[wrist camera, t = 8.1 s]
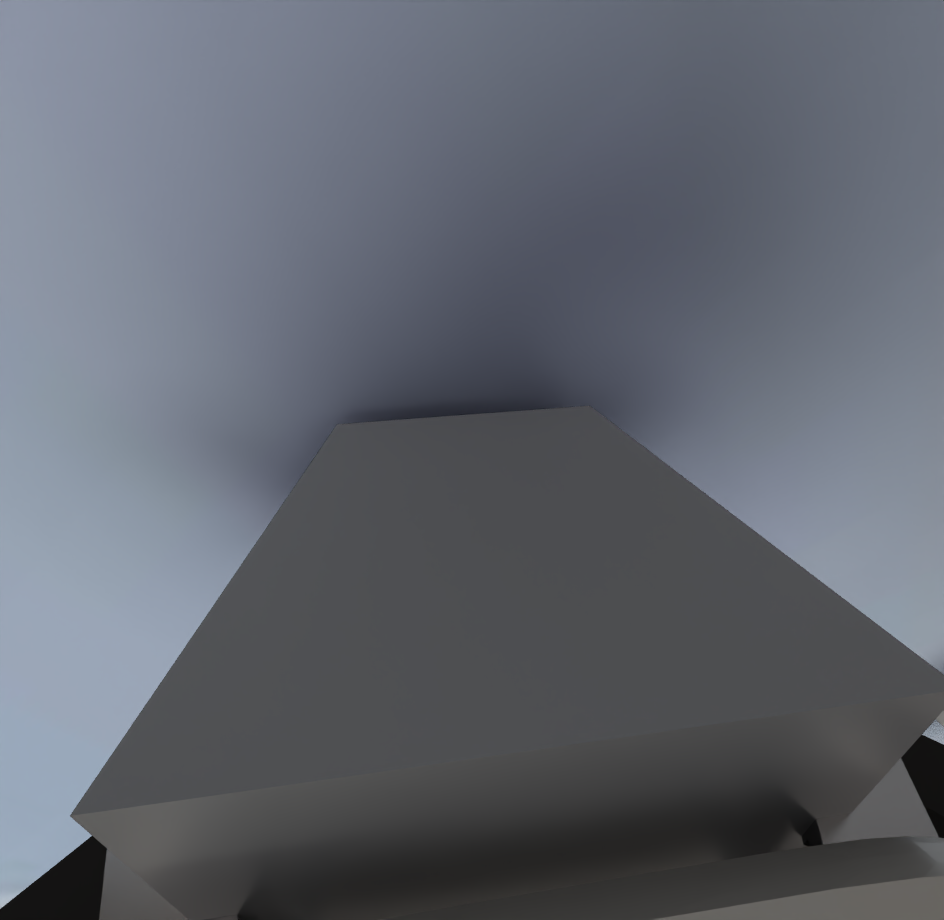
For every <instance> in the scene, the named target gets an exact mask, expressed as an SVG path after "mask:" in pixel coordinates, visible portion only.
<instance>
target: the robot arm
mask: <svg viewBox="0 0 944 920" xmlns="http://www.w3.org/2000/svg"><path fill="white" fill-rule="evenodd" d="M802 841H803V844H804V845H806V846H808V847H803V848H796V849H789V850H782V851H776V852H770V853H764V854H758V855H752V856H746V857H740V858H734V859H728V860H722V861H716V862H710V863H704V864H697V865H691V866H685V867H679V868H673V869H667V870H661V871H655V872H649V873H643V874H638V875H632V876H626V877H620V878H614V879H608V880H603V881H597V882H591V883H585V884H579V885H573V886H568V887H562V888H556V889H550V890H544V891H539V892H533V893H527V894H521V895H516V896H510V897H504V898H498V899H492V900H487V901H481V902H475V903H469V904H464V905H458V906H453V907H447V908H441V909H436V910H430V911H424V912H419V913H413V914H408V915H402V916H396V917H391V918H385V919H380V920H944V745H943V744H941V743H939V742H936V741H934V740H932V739H930V738H928V737H926V736H923V735H921V736H920V737H919V738H918V739H917V740H916V741H915V743H914V744H913V745H912V746H911V747H910V748H909V749H908V750H907V752H906V753H905V754H904V755H903V756H902V757H901V758H900V759H899V760H898V762H897V763H896V764H895V765H894V766H893V767H892V768H891V769H890V771H889V772H888V773H887V774H886V775H885V776H884V777H883V778H882V779H881V781H880V782H879V783H878V784H877V785H876V786H875V787H874V788H873V789H872V791H871V792H870V793H869V794H868V795H867V796H866V797H865V798H864V800H863V801H862V802H861V803H860V804H859V805H858V806H857V807H856V808H855V810H854V811H853V812H852V813H846V814H840V815H833V816H827V817H821V818H816V819H815V820H814V822H813V823H812V824H811V825H810V827H809V828H808V829H807V830H806V832H805V833H804V834H803V835H802ZM0 920H189V919H187V918H186V917H185V916H184V915H183V914H182V913H181V912H179V911H178V910H177V909H176V908H175V907H174V906H173V905H171V904H170V903H169V902H168V901H167V900H166V899H165V898H163V897H162V896H161V895H160V894H159V893H158V892H156V891H155V890H154V889H153V888H152V887H151V886H150V885H148V884H147V883H146V882H145V881H144V880H143V879H142V878H140V877H139V876H138V875H137V874H136V873H135V872H134V871H132V870H131V869H130V868H129V867H128V866H127V865H126V864H124V863H123V862H122V861H121V860H120V859H119V858H117V857H116V856H115V855H114V854H113V853H112V852H111V851H109V850H108V849H107V848H106V847H105V846H104V845H103V844H101V843H100V842H99V841H98V840H97V839H96V838H95V837H93V836H91V837H90V838H89V839H88V840H86V841H85V842H84V843H83V844H81V845H80V846H79V847H78V848H76V849H75V850H74V851H73V852H71V853H70V854H69V855H68V856H66V857H65V858H64V859H63V860H61V861H60V862H59V863H58V864H56V865H55V866H54V867H53V868H51V869H50V870H49V871H47V872H46V873H45V874H44V875H42V876H41V877H40V878H39V879H37V880H36V881H35V882H34V883H32V884H31V885H30V886H29V887H27V888H26V889H25V890H24V891H22V892H21V893H20V894H19V895H17V896H16V897H15V898H14V899H12V900H11V901H10V902H9V903H7V904H6V905H5V906H4V907H2V908H1V909H0ZM204 920H242V919H241V918H240V917H239V916H238V915H237V914H235V915H229V916H223V917H217V918H211V919H204Z"/></svg>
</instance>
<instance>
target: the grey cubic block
mask: <svg viewBox="0 0 944 920" xmlns="http://www.w3.org/2000/svg"><path fill="white" fill-rule="evenodd" d="M943 710H944V675H943V674H942V673H941V672H939V671H938V670H937V669H935V668H934V667H933V666H931V665H930V664H929V663H927V662H926V661H925V660H924V659H922V658H921V657H920V656H918V655H917V654H916V653H914V652H913V651H912V650H910V649H909V648H908V647H906V646H905V645H904V644H903V643H901V642H900V641H899V640H897V639H896V638H895V637H893V636H892V635H891V634H889V633H888V632H887V631H885V630H884V629H883V628H881V627H880V626H879V625H878V624H876V623H875V622H874V621H872V620H871V619H870V618H868V617H867V616H866V615H864V614H863V613H862V612H860V611H859V610H858V609H856V608H855V607H854V606H853V605H851V604H850V603H849V602H847V601H846V600H845V599H843V598H842V597H841V596H839V595H838V594H837V593H835V592H834V591H833V590H831V589H830V588H829V587H828V586H826V585H825V584H824V583H822V582H821V581H820V580H818V579H817V578H816V577H814V576H813V575H812V574H810V573H809V572H808V571H806V570H805V569H804V568H803V567H801V566H800V565H799V564H797V563H796V562H795V561H793V560H792V559H791V558H789V557H788V556H787V555H785V554H784V553H783V552H781V551H780V550H779V549H778V548H776V547H775V546H774V545H772V544H771V543H770V542H768V541H767V540H766V539H764V538H763V537H762V536H760V535H759V534H758V533H757V532H755V531H754V530H753V529H751V528H750V527H749V526H747V525H746V524H745V523H743V522H742V521H741V520H739V519H738V518H737V517H735V516H734V515H733V514H732V513H730V512H729V511H728V510H726V509H725V508H724V507H722V506H721V505H720V504H718V503H717V502H716V501H714V500H713V499H712V498H710V497H709V496H708V495H707V494H705V493H704V492H703V491H701V490H700V489H699V488H697V487H696V486H695V485H693V484H692V483H691V482H689V481H688V480H687V479H685V478H684V477H683V476H682V475H680V474H679V473H678V472H676V471H675V470H674V469H672V468H671V467H670V466H668V465H667V464H666V463H664V462H663V461H662V460H660V459H659V458H658V457H657V456H655V455H654V454H653V453H651V452H650V451H649V450H647V449H646V448H645V447H643V446H642V445H641V444H639V443H638V442H637V441H635V440H634V439H633V438H632V437H630V436H629V435H628V434H626V433H625V432H624V431H622V430H621V429H620V428H618V427H617V426H616V425H614V424H613V423H612V422H611V421H609V420H608V419H607V418H605V417H604V416H603V415H601V414H600V413H599V412H597V411H596V410H595V409H593V408H592V407H591V406H578V407H565V408H551V409H537V410H524V411H510V412H497V413H483V414H470V415H456V416H443V417H429V418H415V419H402V420H388V421H375V422H361V423H348V424H337V425H336V427H335V428H334V430H333V431H332V433H331V434H330V435H329V437H328V438H327V440H326V441H325V443H324V444H323V446H322V447H321V449H320V450H319V452H318V453H317V454H316V456H315V457H314V459H313V460H312V462H311V463H310V465H309V466H308V468H307V469H306V471H305V472H304V474H303V475H302V476H301V478H300V479H299V481H298V482H297V484H296V485H295V487H294V488H293V490H292V491H291V493H290V494H289V496H288V497H287V498H286V500H285V501H284V503H283V504H282V506H281V507H280V509H279V510H278V512H277V513H276V515H275V516H274V518H273V519H272V520H271V522H270V523H269V525H268V526H267V528H266V529H265V531H264V532H263V534H262V535H261V537H260V538H259V540H258V541H257V542H256V544H255V545H254V547H253V548H252V550H251V551H250V553H249V554H248V556H247V557H246V559H245V560H244V561H243V563H242V564H241V566H240V567H239V569H238V570H237V572H236V573H235V575H234V576H233V578H232V579H231V581H230V582H229V583H228V585H227V586H226V588H225V589H224V591H223V592H222V594H221V595H220V597H219V598H218V600H217V601H216V603H215V604H214V605H213V607H212V608H211V610H210V611H209V613H208V614H207V616H206V617H205V619H204V620H203V622H202V623H201V625H200V626H199V627H198V629H197V630H196V632H195V633H194V635H193V636H192V638H191V639H190V641H189V642H188V644H187V645H186V647H185V648H184V649H183V651H182V652H181V654H180V655H179V657H178V658H177V660H176V661H175V663H174V664H173V666H172V667H171V668H170V670H169V671H168V673H167V674H166V676H165V677H164V679H163V680H162V682H161V683H160V685H159V686H158V688H157V689H156V690H155V692H154V693H153V695H152V696H151V698H150V699H149V701H148V702H147V704H146V705H145V707H144V708H143V710H142V711H141V712H140V714H139V715H138V717H137V718H136V720H135V721H134V723H133V724H132V726H131V727H130V729H129V730H128V732H127V733H126V734H125V736H124V737H123V739H122V740H121V742H120V743H119V745H118V746H117V748H116V749H115V751H114V752H113V754H112V755H111V756H110V758H109V759H108V761H107V762H106V764H105V765H104V767H103V768H102V770H101V771H100V773H99V774H98V775H97V777H96V778H95V780H94V781H93V783H92V784H91V786H90V787H89V789H88V790H87V792H86V793H85V795H84V796H83V797H82V799H81V800H80V802H79V803H78V805H77V806H76V808H75V809H74V811H73V812H72V814H71V815H70V817H72V818H73V819H74V820H75V821H76V822H77V823H78V824H80V825H81V826H82V827H83V828H84V829H85V830H86V831H88V832H89V833H90V834H91V835H92V836H93V837H95V838H96V839H97V840H98V841H99V842H100V843H101V844H103V845H104V846H105V847H106V848H107V849H108V850H109V851H111V852H112V853H113V854H114V855H115V856H116V857H117V858H119V859H120V860H121V861H122V862H123V863H124V864H126V865H127V866H128V867H129V868H130V869H131V870H132V871H134V872H135V873H136V874H137V875H138V876H139V877H140V878H142V879H143V880H144V881H145V882H146V883H147V884H148V885H150V886H151V887H152V888H153V889H154V890H155V891H156V892H158V893H159V894H160V895H161V896H162V897H163V898H165V899H166V900H167V901H168V902H169V903H170V904H171V905H173V906H174V907H175V908H176V909H177V910H178V911H179V912H181V913H182V914H183V915H184V916H185V917H186V918H187V919H189V920H204V919H211V918H217V917H223V916H229V915H235V914H237V915H238V916H239V917H240V918H241V919H242V920H380V919H385V918H391V917H396V916H402V915H408V914H413V913H419V912H424V911H430V910H436V909H441V908H447V907H453V906H458V905H464V904H469V903H475V902H481V901H487V900H492V899H498V898H504V897H510V896H516V895H521V894H527V893H533V892H539V891H544V890H550V889H556V888H562V887H568V886H573V885H579V884H585V883H591V882H597V881H603V880H608V879H614V878H620V877H626V876H632V875H638V874H643V873H649V872H655V871H661V870H667V869H673V868H679V867H685V866H691V865H697V864H704V863H710V862H716V861H722V860H728V859H734V858H740V857H746V856H752V855H758V854H764V853H770V852H776V851H782V850H789V849H796V848H803V847H808V846H806V845H804V844H803V841H802V835H803V834H804V833H805V832H806V830H807V829H808V828H809V827H810V825H811V824H812V823H813V822H814V820H815V819H816V818H821V817H827V816H833V815H840V814H846V813H852V812H853V811H854V810H855V808H856V807H857V806H858V805H859V804H860V803H861V802H862V801H863V800H864V798H865V797H866V796H867V795H868V794H869V793H870V792H871V791H872V789H873V788H874V787H875V786H876V785H877V784H878V783H879V782H880V781H881V779H882V778H883V777H884V776H885V775H886V774H887V773H888V772H889V771H890V769H891V768H892V767H893V766H894V765H895V764H896V763H897V762H898V760H899V759H900V758H901V757H902V756H903V755H904V754H905V753H906V752H907V750H908V749H909V748H910V747H911V746H912V745H913V744H914V743H915V741H916V740H917V739H918V738H919V737H920V736H921V735H922V734H923V733H924V731H925V730H926V729H927V728H928V727H929V726H930V725H931V724H932V723H933V721H934V720H935V719H936V718H937V717H938V716H939V715H940V714H941V712H942V711H943Z"/></svg>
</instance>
